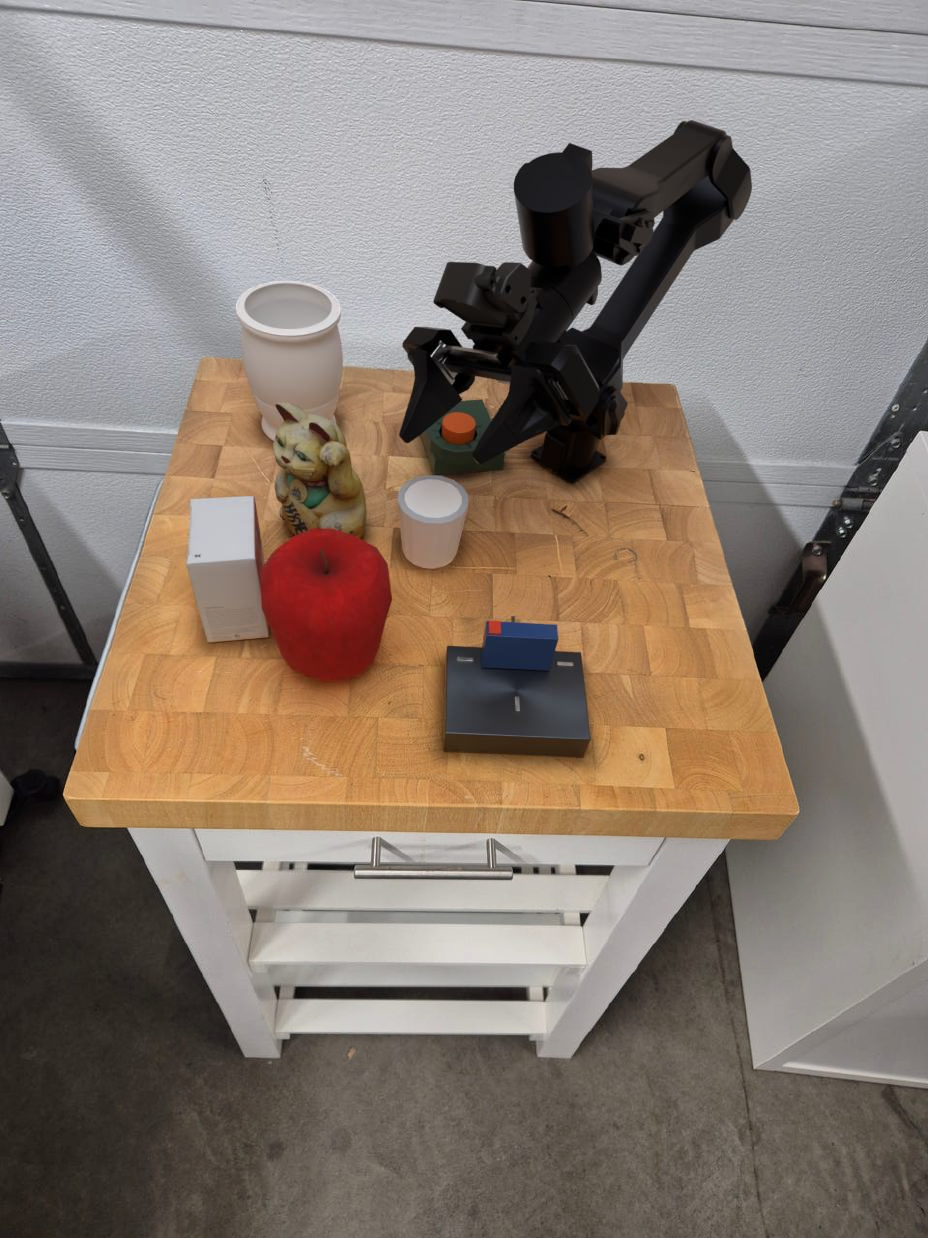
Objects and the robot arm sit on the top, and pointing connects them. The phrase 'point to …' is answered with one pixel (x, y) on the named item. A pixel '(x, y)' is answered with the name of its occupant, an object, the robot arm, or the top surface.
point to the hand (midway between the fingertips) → (437, 449)
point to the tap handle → (518, 645)
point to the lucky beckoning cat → (316, 475)
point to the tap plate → (515, 706)
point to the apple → (326, 602)
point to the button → (458, 428)
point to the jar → (291, 349)
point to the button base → (459, 457)
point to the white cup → (431, 519)
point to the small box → (227, 567)
